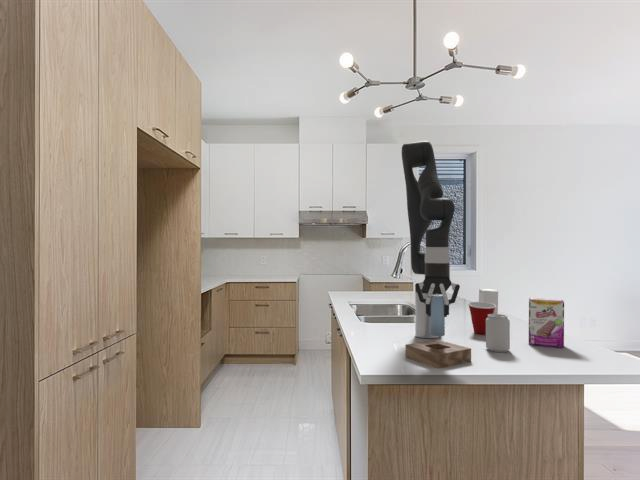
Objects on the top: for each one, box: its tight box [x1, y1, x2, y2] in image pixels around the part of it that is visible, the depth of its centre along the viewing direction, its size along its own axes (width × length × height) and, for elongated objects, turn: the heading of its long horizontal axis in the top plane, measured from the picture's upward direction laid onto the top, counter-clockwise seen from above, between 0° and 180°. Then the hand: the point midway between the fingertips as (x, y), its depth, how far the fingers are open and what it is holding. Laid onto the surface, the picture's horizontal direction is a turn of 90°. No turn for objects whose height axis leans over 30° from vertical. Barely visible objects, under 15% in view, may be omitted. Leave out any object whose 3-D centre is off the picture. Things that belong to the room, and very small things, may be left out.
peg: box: [430, 295, 446, 337], centre depth 133 cm, size 4×4×12 cm
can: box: [485, 313, 511, 353], centre depth 144 cm, size 8×8×12 cm
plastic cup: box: [467, 301, 496, 336], centre depth 171 cm, size 11×11×12 cm
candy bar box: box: [528, 297, 565, 349], centre depth 151 cm, size 11×5×16 cm, turn 65°
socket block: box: [405, 339, 472, 369], centre depth 133 cm, size 14×14×4 cm
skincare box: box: [478, 288, 499, 314], centre depth 191 cm, size 8×7×16 cm
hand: (437, 316), depth 133 cm, fingers closed on peg, 4 cm apart
